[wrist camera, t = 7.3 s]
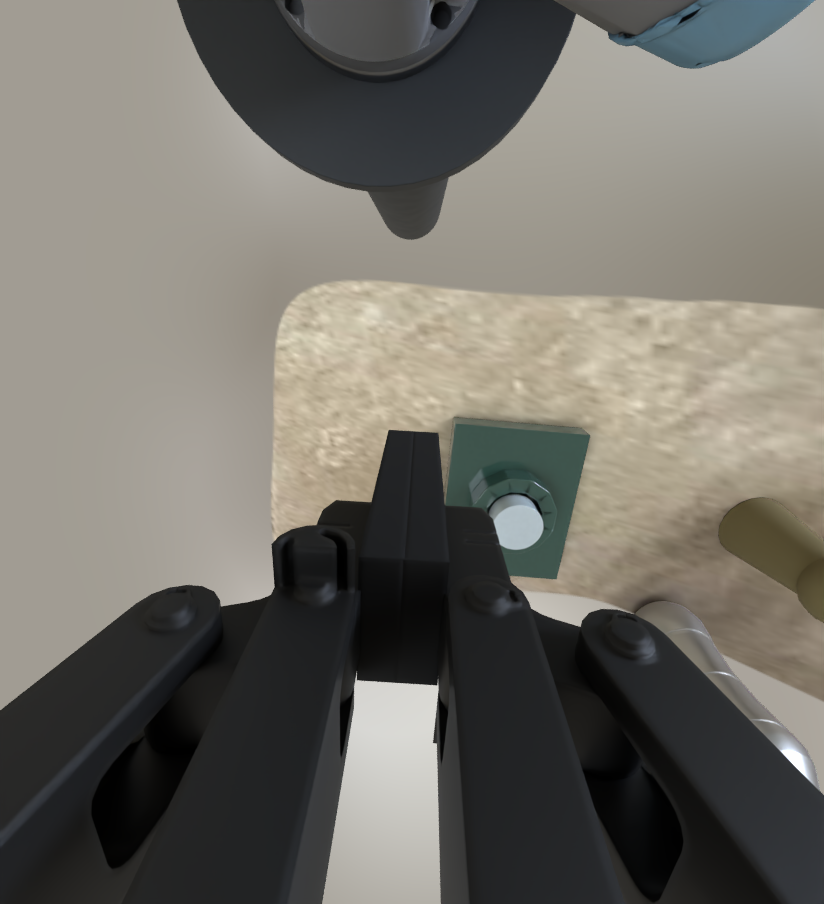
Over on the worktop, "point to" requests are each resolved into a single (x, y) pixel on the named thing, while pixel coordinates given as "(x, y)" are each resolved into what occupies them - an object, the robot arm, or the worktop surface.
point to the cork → (778, 548)
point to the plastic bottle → (725, 678)
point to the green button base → (519, 480)
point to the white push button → (516, 521)
